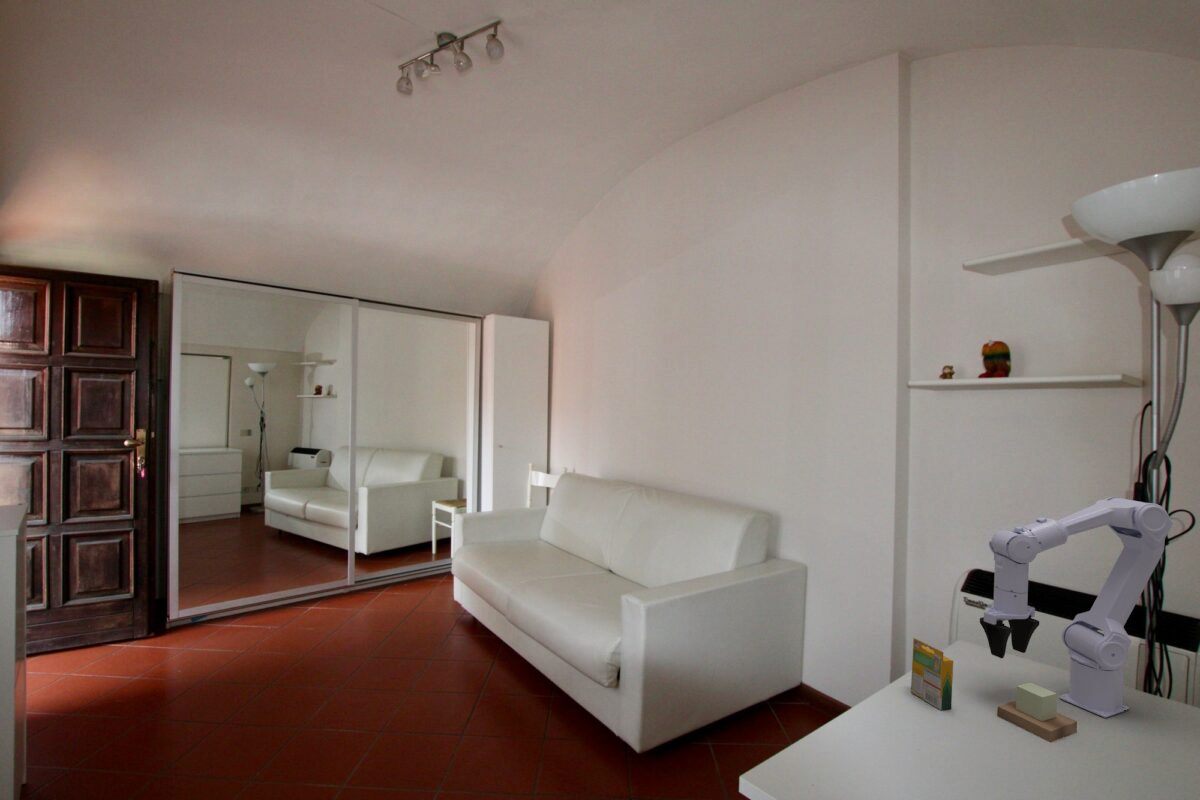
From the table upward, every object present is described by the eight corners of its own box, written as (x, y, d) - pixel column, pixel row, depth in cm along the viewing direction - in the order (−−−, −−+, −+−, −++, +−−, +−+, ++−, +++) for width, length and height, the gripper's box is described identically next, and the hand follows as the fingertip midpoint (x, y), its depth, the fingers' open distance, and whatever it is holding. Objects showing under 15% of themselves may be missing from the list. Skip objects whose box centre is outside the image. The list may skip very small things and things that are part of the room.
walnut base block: (1023, 710, 112) (1023, 697, 112) (1076, 734, 104) (1077, 721, 104) (997, 718, 108) (997, 706, 108) (1050, 745, 100) (1050, 731, 100)
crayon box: (952, 709, 110) (954, 651, 110) (940, 711, 109) (943, 652, 109) (921, 690, 117) (923, 636, 117) (910, 692, 116) (912, 637, 116)
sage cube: (1030, 705, 109) (1030, 682, 109) (1056, 717, 105) (1056, 693, 105) (1016, 709, 107) (1016, 685, 107) (1041, 721, 103) (1042, 697, 103)
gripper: (1010, 580, 122) (1008, 641, 122) (969, 586, 116) (967, 650, 116) (1046, 590, 116) (1044, 654, 115) (1005, 597, 110) (1003, 665, 110)
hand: (1008, 653), depth 115 cm, fingers open, 7 cm apart
